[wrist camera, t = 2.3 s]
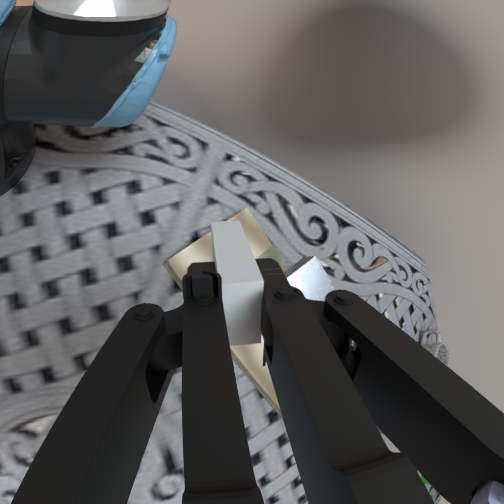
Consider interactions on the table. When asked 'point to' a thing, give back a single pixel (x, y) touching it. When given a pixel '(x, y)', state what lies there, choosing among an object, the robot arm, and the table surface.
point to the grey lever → (309, 278)
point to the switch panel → (261, 247)
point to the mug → (436, 346)
